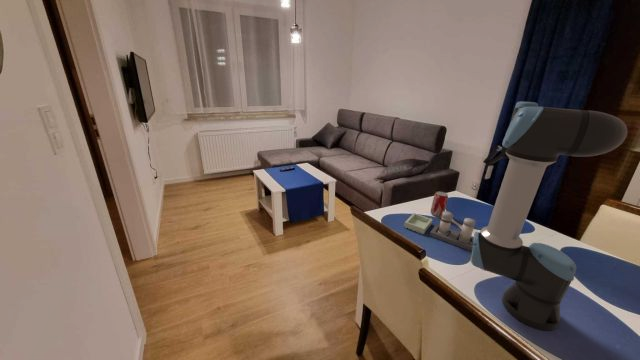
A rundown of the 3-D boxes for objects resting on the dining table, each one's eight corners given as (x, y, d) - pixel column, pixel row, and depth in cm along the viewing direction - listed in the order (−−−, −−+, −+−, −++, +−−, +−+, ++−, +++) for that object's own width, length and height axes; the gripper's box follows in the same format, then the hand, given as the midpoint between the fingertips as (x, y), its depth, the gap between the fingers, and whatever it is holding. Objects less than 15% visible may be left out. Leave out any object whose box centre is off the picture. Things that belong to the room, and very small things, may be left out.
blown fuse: (446, 238, 124) (451, 217, 120) (436, 235, 127) (441, 213, 122) (448, 234, 128) (454, 213, 123) (438, 231, 130) (443, 210, 126)
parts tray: (423, 234, 127) (424, 229, 126) (403, 227, 132) (404, 222, 131) (431, 224, 136) (432, 219, 135) (412, 217, 142) (413, 212, 141)
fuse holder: (472, 251, 115) (480, 228, 111) (429, 235, 126) (434, 214, 122) (476, 241, 123) (483, 219, 118) (435, 227, 134) (440, 206, 129)
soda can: (427, 212, 148) (431, 191, 144) (436, 210, 151) (441, 190, 147) (437, 218, 143) (442, 197, 138) (446, 216, 145) (451, 195, 141)
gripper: (554, 144, 104) (535, 192, 112) (492, 132, 125) (480, 173, 133) (544, 145, 101) (526, 195, 109) (483, 133, 122) (471, 175, 130)
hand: (501, 183), depth 121 cm, fingers open, 13 cm apart
